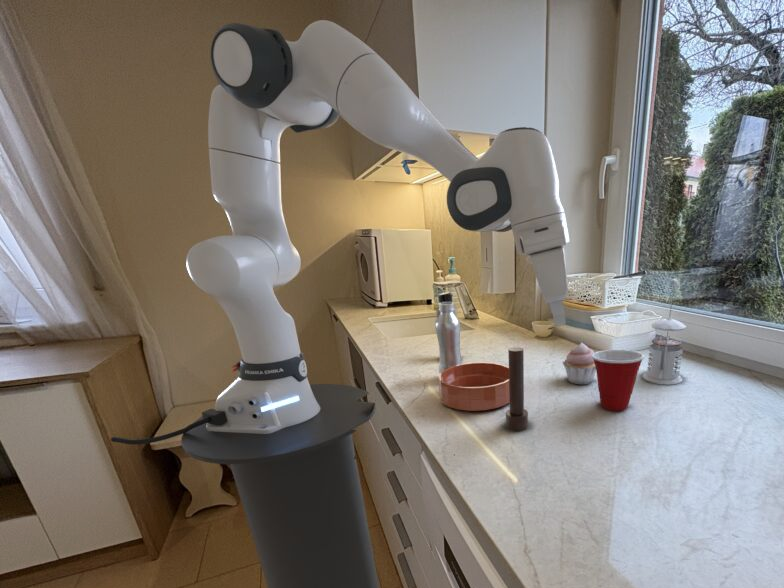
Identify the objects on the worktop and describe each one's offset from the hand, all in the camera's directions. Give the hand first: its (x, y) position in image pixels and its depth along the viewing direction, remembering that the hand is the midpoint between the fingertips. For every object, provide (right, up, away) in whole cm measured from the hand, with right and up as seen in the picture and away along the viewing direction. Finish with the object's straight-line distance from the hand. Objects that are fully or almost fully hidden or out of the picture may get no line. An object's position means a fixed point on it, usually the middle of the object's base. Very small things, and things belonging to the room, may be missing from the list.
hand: (558, 320), depth 72 cm
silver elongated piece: (-24, -10, +36) cm, 44 cm away
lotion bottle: (-27, -4, +52) cm, 59 cm away
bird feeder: (+30, -10, +34) cm, 47 cm away
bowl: (-16, -14, +24) cm, 32 cm away
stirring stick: (-7, -20, +10) cm, 23 cm away
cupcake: (+9, -10, +34) cm, 37 cm away
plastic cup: (+14, -16, +19) cm, 29 cm away
